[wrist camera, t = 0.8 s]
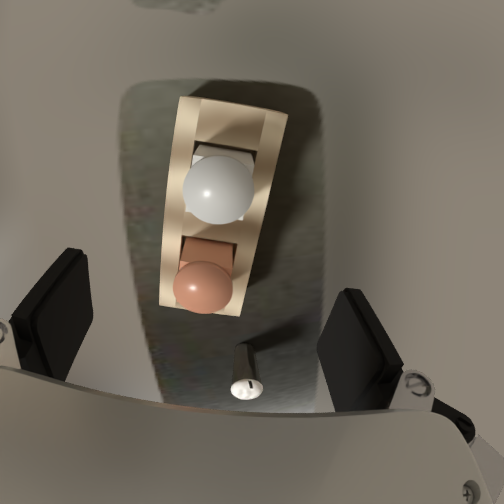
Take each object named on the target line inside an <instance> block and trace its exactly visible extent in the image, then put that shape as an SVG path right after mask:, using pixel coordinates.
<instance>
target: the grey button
mask: <svg viewBox="0 0 504 504" xmlns="http://www.w3.org/2000/svg"><path fill="white" fill-rule="evenodd" d="M253 170H254V162H253V158H252V155H251V153H247V152H242V151H236V150H230V149H224V148H218V147H212V146H205V145H199V147H198V148H197V150H196V151H195V153H194V155H193V160H192V166H191V168H190V170H189V171H188V173H187V175H186V177H185V179H184V183H183V190H182V191H183V198H184V201H185V204H186V210H185V212H191V213H192V214H193V215H194V216H196V217H197V218H198V219H200V220H202V221H204V222H207V223H211V224H227V223H230V222H233V221H235V220H243V216H244V214H245V213H246V212H247V210H248V209H249V208H250V206H251V204H252V201H253V198H254V183H253V179H252V174H253Z"/></svg>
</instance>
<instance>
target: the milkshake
mask: <svg viewBox="0 0 504 504" xmlns="http://www.w3.org/2000/svg"><path fill="white" fill-rule="evenodd" d="M262 390H263V386H262V383H261V378H260V374H259V369H258V363H257V358H256V353H255V348H254V347H253V346H252V345H251V344H248V343H240V344H239V345H237V346H236V347H235V350H234V363H233V375H232V384H231V392H232V394H233V395H234V396H236V397H237V398H239V399H246V400H248V399H252V398H256V397H258V396H259V395H260V394H261V392H262Z"/></svg>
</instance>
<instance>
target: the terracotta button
mask: <svg viewBox="0 0 504 504" xmlns="http://www.w3.org/2000/svg"><path fill="white" fill-rule="evenodd" d="M232 269H233V259H232V243H227V242H220V241H214V240H207V239H200V238H194V237H186V241H185V244H184V248H183V251H182V255H181V259H180V266H179V271H178V272H177V274H176V276H175V279H174V283H173V293H174V296H175V298H176V300H177V302H179V303H180V304H181V305H182V306H183V307H184V308H186V309H188V310H190V311H192V312H196V313H202V314H208V313H214V312H217V311H219V310H221V309H223V308H224V309H225V306H226V305H227V304H228V303H229V302H230V300H231V298H232V294H233V283H232V279H231V274H232Z"/></svg>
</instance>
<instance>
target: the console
mask: <svg viewBox="0 0 504 504" xmlns="http://www.w3.org/2000/svg"><path fill="white" fill-rule="evenodd" d="M287 117H288V115H287V114H285V113H282V112H280V111H275V110H271V109H266V108H261V107H256V106H251V105H246V104H240V103H234V102H229V101H222V100H216V99H209V98H202V97H194V96H180V100H179V106H178V112H177V118H176V124H175V131H174V138H173V145H172V152H171V159H170V167H169V176H168V184H167V194H166V203H165V214H164V226H163V239H162V254H161V273H160V299H159V305H162V306H168V307H175V308H181V309H186V308H184V307H183V306H182V305H181V304H180V303H179V302H177V300H176V298H175V296H174V293H173V283H174V279H175V276H176V274H177V272H178V271H179V266H180V259H181V255H182V251H183V248H184V244H185V241H186V237H194V238H200V239H207V240H214V241H220V242H227V243H232V259H233V269H232V274H231V279H232V283H233V294H232V298H231V300H230V302H229V303H228V304H227V305H226V306H225V309H224V308H223V309H221V310H219V311H217V312H214V313H217V314H224V315H232V316H240V312H241V308H242V304H243V300H244V296H245V292H246V288H247V283H248V279H249V275H250V271H251V267H252V263H253V259H254V255H255V250H256V246H257V242H258V238H259V234H260V230H261V226H262V222H263V217H264V213H265V209H266V205H267V201H268V197H269V192H270V188H271V184H272V180H273V176H274V172H275V168H276V163H277V159H278V155H279V151H280V147H281V142H282V138H283V134H284V130H285V126H286V122H287ZM199 145H205V146H212V147H218V148H224V149H230V150H236V151H242V152H247V153H251V155H252V158H253V162H254V170H253V174H252V179H253V183H254V198H253V201H252V204H251V206H250V208H249V209H248V210H247V212H246V213H245V214H244V216H243V220H235V221H233V222H230V223H227V224H211V223H207V222H204V221H202V220H200V219H198V218H197V217H196V216H194V215H193V214H192V213H191V212H185V210H186V204H185V201H184V198H183V191H182V190H183V183H184V179H185V177H186V175H187V173H188V171H189V170H190V168H191V166H192V160H193V155H194V153H195V151H196V150H197V148H198V147H199Z"/></svg>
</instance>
